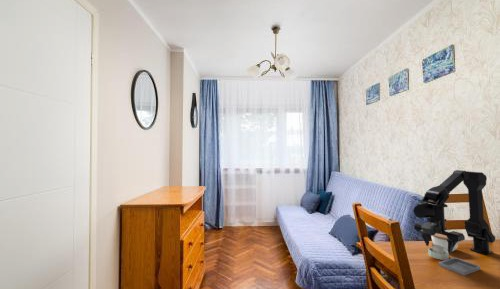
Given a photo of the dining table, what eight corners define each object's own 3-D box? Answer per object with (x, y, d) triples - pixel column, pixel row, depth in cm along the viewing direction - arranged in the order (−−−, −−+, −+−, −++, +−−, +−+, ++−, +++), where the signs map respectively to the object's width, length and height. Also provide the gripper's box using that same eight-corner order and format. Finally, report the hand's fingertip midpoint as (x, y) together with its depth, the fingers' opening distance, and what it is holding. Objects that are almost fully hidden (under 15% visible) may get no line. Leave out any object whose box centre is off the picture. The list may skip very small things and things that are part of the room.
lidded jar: (464, 255, 111) (463, 235, 111) (439, 253, 113) (438, 234, 113) (450, 246, 121) (449, 228, 122) (427, 244, 124) (426, 227, 124)
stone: (431, 254, 110) (430, 245, 111) (436, 253, 112) (435, 244, 112) (440, 258, 107) (440, 248, 107) (445, 256, 108) (445, 247, 108)
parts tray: (454, 261, 105) (454, 257, 105) (480, 270, 97) (480, 266, 97) (438, 266, 100) (438, 262, 101) (464, 276, 92) (464, 272, 92)
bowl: (434, 252, 114) (434, 246, 114) (452, 258, 107) (452, 252, 107) (424, 255, 111) (424, 249, 112) (442, 262, 104) (442, 255, 105)
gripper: (405, 213, 116) (407, 245, 115) (449, 224, 98) (451, 261, 98) (420, 211, 120) (421, 241, 119) (464, 221, 103) (466, 256, 102)
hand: (438, 249), depth 109 cm, fingers open, 9 cm apart
